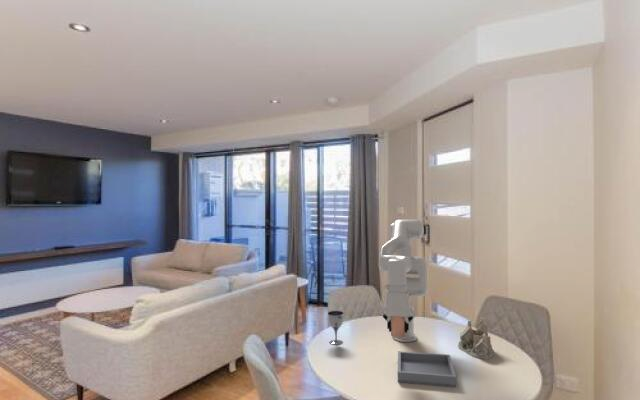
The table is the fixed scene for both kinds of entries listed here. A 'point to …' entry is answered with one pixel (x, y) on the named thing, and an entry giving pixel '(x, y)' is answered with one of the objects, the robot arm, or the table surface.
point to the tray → (426, 369)
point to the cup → (397, 326)
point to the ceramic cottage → (476, 341)
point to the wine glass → (335, 324)
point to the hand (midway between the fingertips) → (398, 330)
